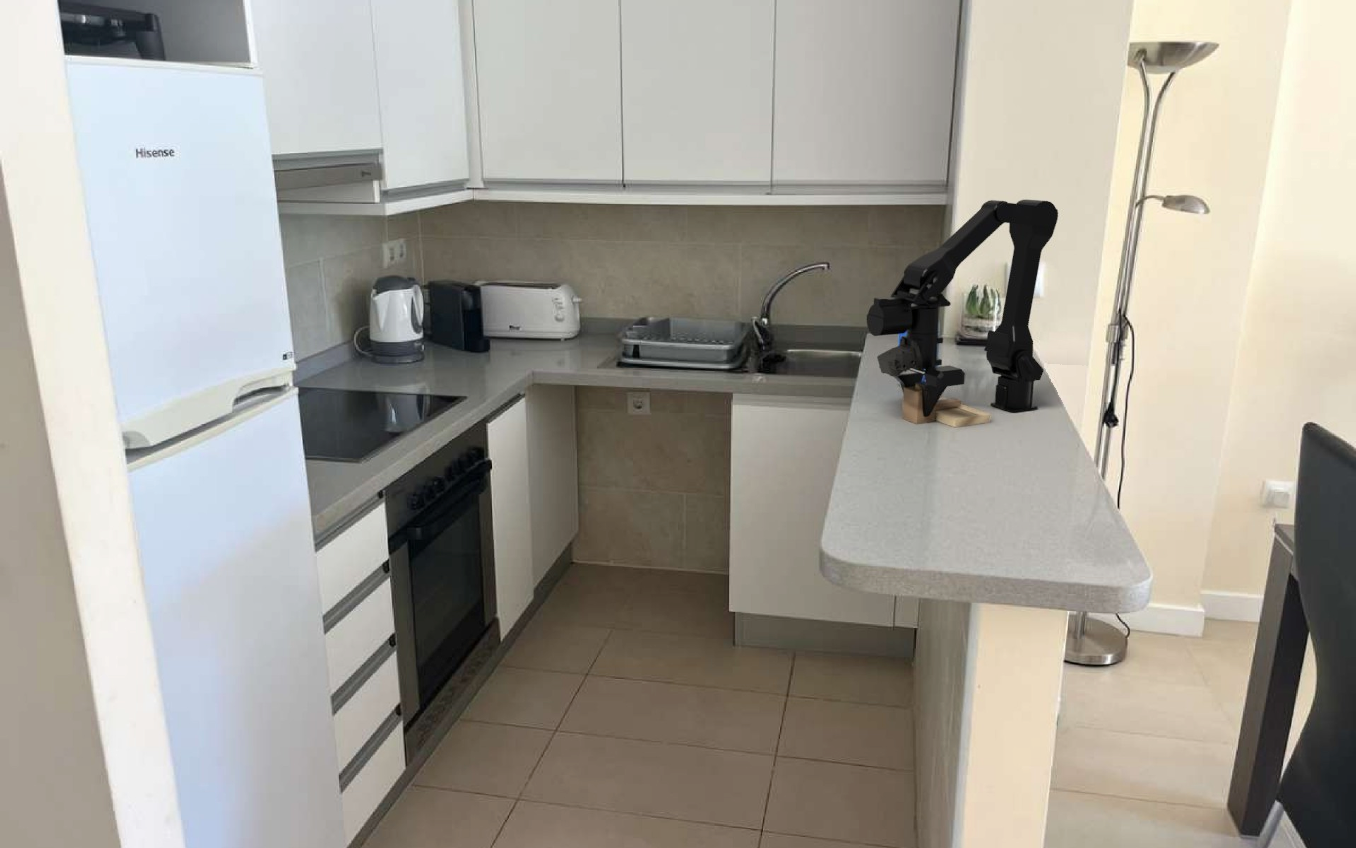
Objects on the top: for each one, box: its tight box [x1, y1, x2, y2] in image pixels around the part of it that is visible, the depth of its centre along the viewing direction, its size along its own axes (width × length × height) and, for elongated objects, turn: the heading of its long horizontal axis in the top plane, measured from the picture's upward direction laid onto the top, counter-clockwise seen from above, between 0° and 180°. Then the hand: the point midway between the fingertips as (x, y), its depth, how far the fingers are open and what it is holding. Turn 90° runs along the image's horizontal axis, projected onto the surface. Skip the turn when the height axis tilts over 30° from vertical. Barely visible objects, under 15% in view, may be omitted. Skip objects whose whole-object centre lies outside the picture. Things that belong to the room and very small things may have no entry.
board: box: [902, 396, 991, 428], centre depth 191 cm, size 8×16×2 cm, turn 24°
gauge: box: [902, 383, 963, 425], centre depth 188 cm, size 11×4×7 cm, turn 114°
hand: (918, 413), depth 188 cm, fingers closed on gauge, 4 cm apart
